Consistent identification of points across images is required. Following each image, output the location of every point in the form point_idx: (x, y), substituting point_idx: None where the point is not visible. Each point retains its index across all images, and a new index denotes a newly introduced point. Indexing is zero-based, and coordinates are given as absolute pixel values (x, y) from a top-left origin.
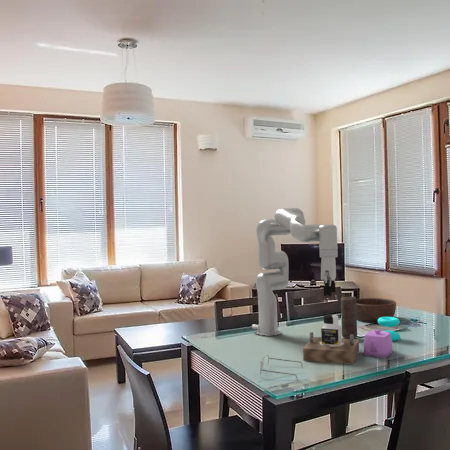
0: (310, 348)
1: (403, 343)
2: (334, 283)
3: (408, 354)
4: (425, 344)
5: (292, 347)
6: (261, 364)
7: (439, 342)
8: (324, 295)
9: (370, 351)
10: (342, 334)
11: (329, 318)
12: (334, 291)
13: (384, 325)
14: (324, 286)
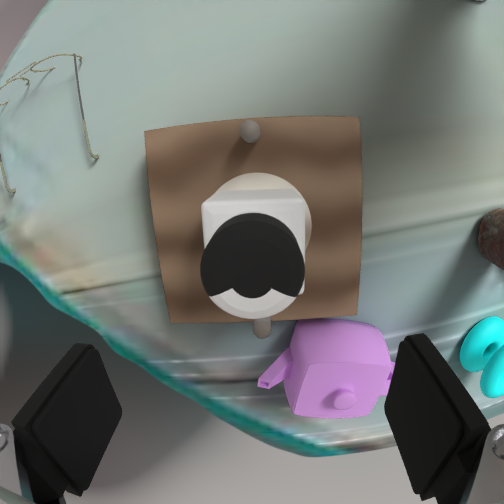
0: (149, 161)
1: None
2: (424, 494)
3: None
4: None
5: (324, 43)
6: (21, 78)
7: None
8: (81, 348)
9: (290, 346)
10: (492, 214)
11: (200, 273)
12: (386, 411)
13: (487, 362)
14: (21, 430)
